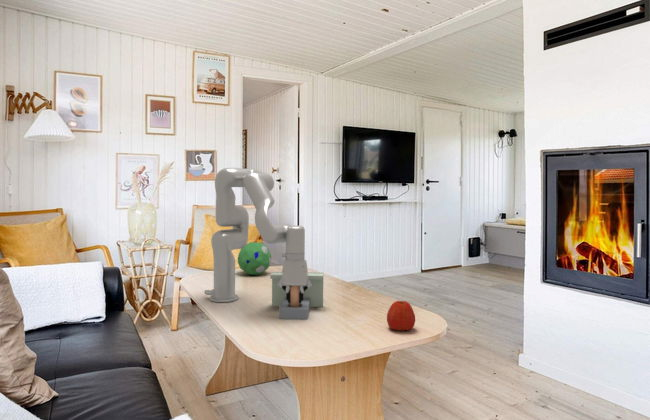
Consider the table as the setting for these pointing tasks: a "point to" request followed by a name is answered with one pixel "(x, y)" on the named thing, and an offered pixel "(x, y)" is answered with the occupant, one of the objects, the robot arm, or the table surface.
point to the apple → (401, 316)
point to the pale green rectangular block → (312, 292)
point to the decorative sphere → (254, 258)
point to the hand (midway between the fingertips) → (294, 301)
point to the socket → (294, 310)
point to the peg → (294, 296)
